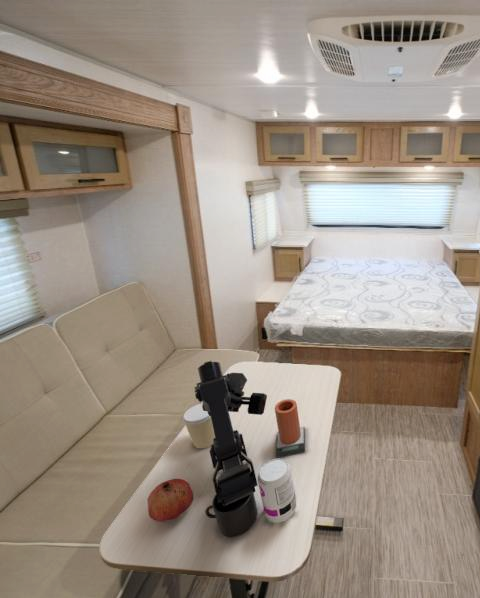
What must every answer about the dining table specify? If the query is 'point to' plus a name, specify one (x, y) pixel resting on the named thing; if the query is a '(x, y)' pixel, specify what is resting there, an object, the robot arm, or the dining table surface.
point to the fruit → (169, 500)
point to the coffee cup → (199, 426)
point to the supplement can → (277, 490)
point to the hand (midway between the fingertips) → (247, 405)
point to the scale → (291, 445)
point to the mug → (234, 515)
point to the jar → (288, 421)
